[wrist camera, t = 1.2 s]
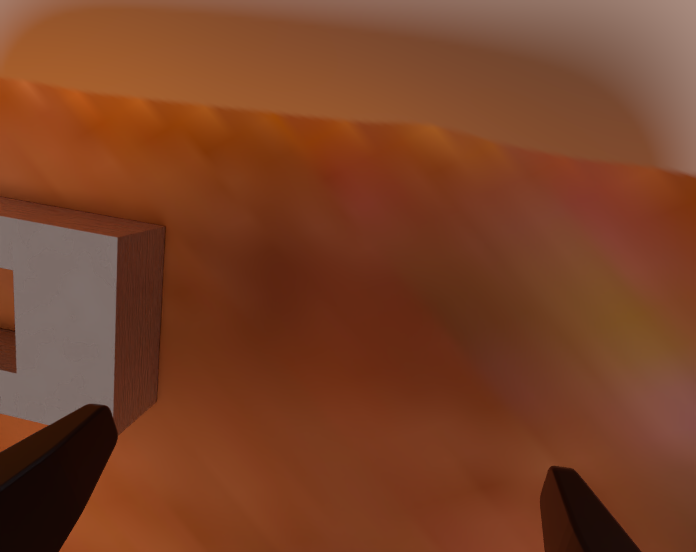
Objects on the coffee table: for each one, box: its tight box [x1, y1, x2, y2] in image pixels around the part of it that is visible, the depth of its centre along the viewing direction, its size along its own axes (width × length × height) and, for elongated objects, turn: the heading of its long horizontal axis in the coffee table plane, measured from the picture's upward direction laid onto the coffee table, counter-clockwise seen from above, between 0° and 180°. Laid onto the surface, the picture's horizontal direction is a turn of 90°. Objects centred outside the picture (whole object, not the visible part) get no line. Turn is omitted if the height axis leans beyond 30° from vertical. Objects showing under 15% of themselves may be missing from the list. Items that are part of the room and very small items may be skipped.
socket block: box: [0, 197, 165, 435], centre depth 25 cm, size 10×16×4 cm, turn 82°
